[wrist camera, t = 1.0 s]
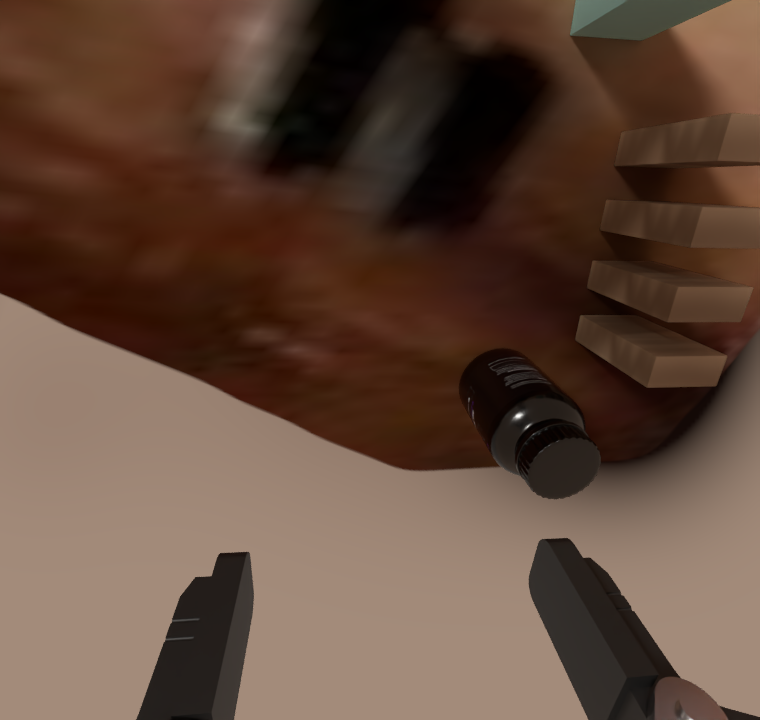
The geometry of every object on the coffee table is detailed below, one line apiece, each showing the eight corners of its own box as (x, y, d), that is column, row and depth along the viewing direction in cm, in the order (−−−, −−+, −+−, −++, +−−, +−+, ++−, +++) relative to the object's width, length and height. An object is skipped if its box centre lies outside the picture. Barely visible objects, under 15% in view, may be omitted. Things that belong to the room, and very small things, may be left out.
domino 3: (606, 199, 32) (702, 207, 23) (667, 201, 32) (783, 209, 24) (599, 230, 32) (690, 247, 24) (659, 231, 33) (768, 249, 25)
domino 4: (592, 260, 33) (678, 287, 25) (651, 261, 34) (753, 287, 26) (586, 288, 34) (667, 322, 26) (643, 288, 35) (740, 321, 26)
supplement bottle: (442, 398, 37) (488, 491, 26) (485, 332, 35) (555, 403, 24) (504, 427, 39) (572, 525, 28) (548, 366, 37) (640, 446, 26)
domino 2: (621, 131, 30) (732, 113, 22) (686, 134, 30) (818, 117, 22) (613, 165, 31) (717, 160, 22) (677, 168, 31) (800, 163, 23)
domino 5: (580, 315, 35) (656, 356, 27) (636, 315, 36) (727, 355, 27) (575, 340, 36) (646, 387, 28) (629, 339, 36) (716, 386, 28)
